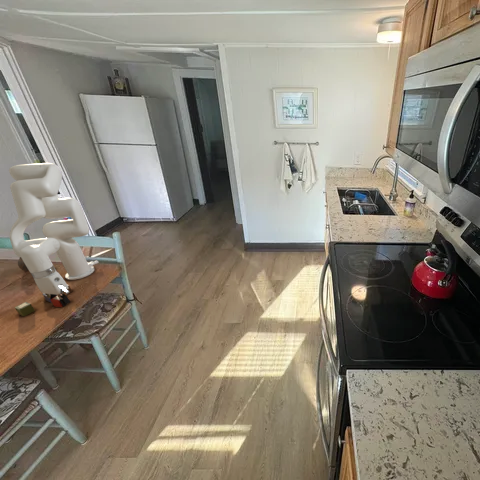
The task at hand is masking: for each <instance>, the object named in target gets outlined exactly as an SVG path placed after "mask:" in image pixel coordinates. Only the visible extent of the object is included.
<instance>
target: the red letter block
mask: <svg viewBox="0 0 480 480" xmlns="http://www.w3.org/2000/svg"><path fill="white" fill-rule="evenodd" d="M60 295H61V294H60ZM50 303H51V304H52V305H53V307H56V308H62V307H64V306H62V304H61V302H60V301H59V297H58V296H55V297H54V298H52V299H51V302H50Z"/></svg>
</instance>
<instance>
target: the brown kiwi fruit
mask: <svg viewBox="0 0 480 480" xmlns="http://www.w3.org/2000/svg"><path fill="white" fill-rule="evenodd" d="M18 258H19V259H18V261H17V266H18V268H19V269H20V270H22V271H24V272H30V271H29V270H28V268H27V266H26V265H25V263H24V261H23V260H22V258H21V257H18Z"/></svg>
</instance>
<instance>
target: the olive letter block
mask: <svg viewBox="0 0 480 480" xmlns="http://www.w3.org/2000/svg"><path fill="white" fill-rule="evenodd" d="M14 309H15V311H16V312H17V313H18V315H20V316H22V317H25V316H28V315H31V314H32V313H34V312H36V310H35V308H34V307H33V305H32V303H29V302H27V301H25V302H23V303H21V304H18V305H17V306H14Z"/></svg>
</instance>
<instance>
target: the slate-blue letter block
mask: <svg viewBox="0 0 480 480" xmlns="http://www.w3.org/2000/svg"><path fill="white" fill-rule="evenodd" d="M42 296H43V298H44V299H45V301H46V302H48V303H52V302H51V300H50V298H48V296H47V295H45V294H44V293H42Z"/></svg>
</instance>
